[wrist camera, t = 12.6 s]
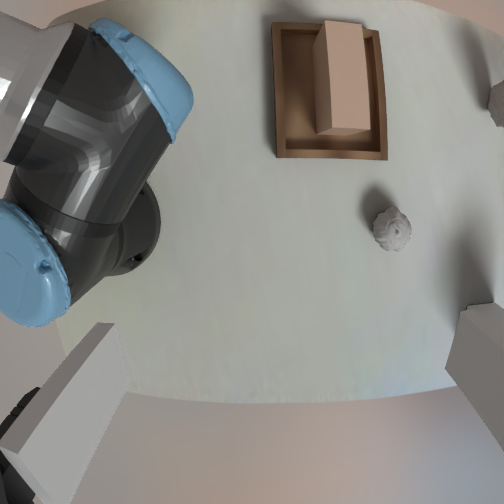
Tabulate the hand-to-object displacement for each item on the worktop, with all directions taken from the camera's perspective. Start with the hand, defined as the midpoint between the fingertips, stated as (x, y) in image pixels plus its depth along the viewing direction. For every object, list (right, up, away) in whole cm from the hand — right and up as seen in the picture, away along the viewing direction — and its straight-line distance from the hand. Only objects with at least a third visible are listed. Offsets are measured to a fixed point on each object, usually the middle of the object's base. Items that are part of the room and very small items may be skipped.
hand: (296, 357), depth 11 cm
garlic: (+17, +7, +31) cm, 36 cm away
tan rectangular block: (+8, +24, +25) cm, 36 cm away
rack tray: (+8, +24, +26) cm, 36 cm away
